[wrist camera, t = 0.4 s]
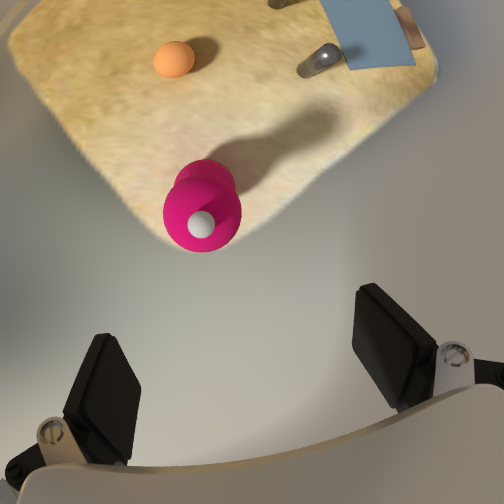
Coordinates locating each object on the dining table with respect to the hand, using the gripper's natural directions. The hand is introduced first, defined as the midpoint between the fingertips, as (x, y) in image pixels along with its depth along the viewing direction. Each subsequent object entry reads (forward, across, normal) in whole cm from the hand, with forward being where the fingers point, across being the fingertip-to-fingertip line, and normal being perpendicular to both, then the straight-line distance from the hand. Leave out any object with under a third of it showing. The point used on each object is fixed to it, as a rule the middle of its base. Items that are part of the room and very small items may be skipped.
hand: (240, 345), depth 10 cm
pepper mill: (+29, +1, -2) cm, 29 cm away
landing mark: (+29, -27, -25) cm, 47 cm away
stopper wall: (+29, -35, -26) cm, 52 cm away
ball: (+26, +2, -19) cm, 33 cm away
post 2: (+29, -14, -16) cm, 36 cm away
